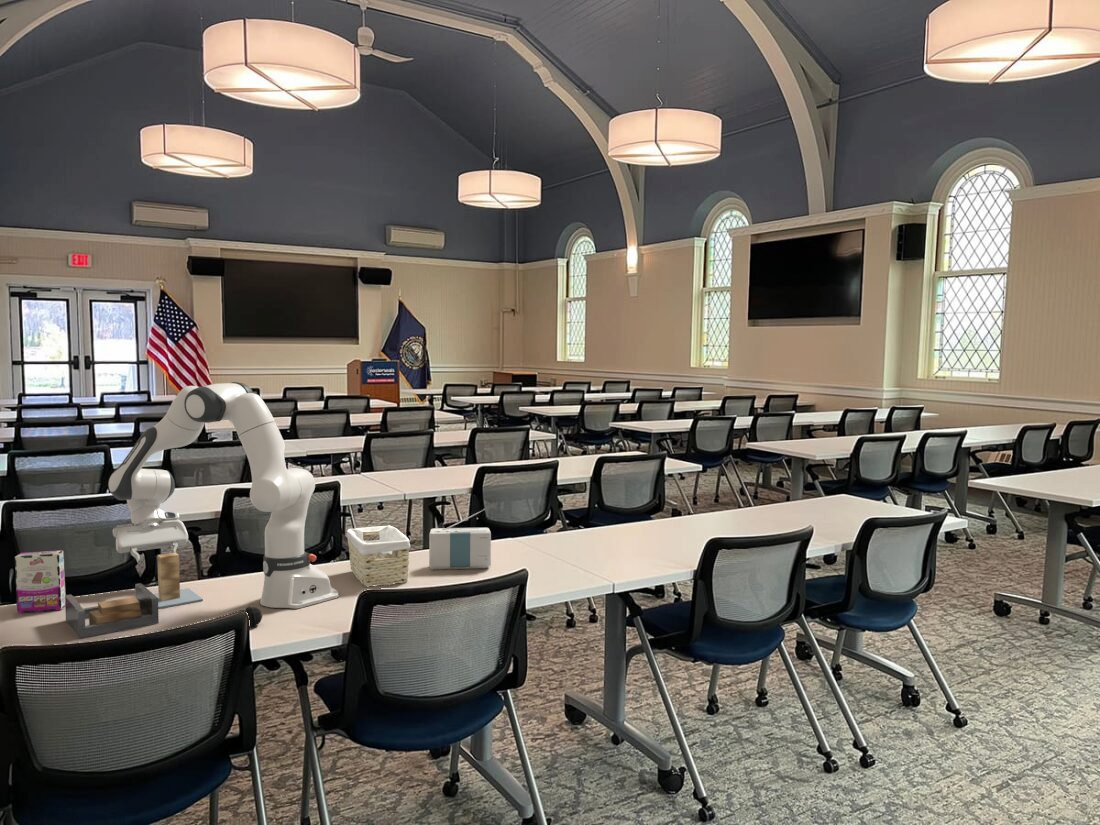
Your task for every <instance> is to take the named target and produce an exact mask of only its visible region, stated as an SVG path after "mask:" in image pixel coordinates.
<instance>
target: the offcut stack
mask: <svg viewBox="0 0 1100 825" xmlns="http://www.w3.org/2000/svg"><path fill="white" fill-rule="evenodd" d="M97 604H98V605H97V606H98V610H97V611H91V612H89V618H88V621H89V622H88V624H89V625H94V624H100V623H105V622H111V621H116V620H121V619H127V618H132V617H138V616H143V614H142V613H141V608H140V602H139V601H138V600H137V599H136V596H131V597H126V598H120V599H119V598H118V599H113V600H112V599H111V600H107V601H101V602H98V603H97ZM89 625H88V626H89Z"/></svg>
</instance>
